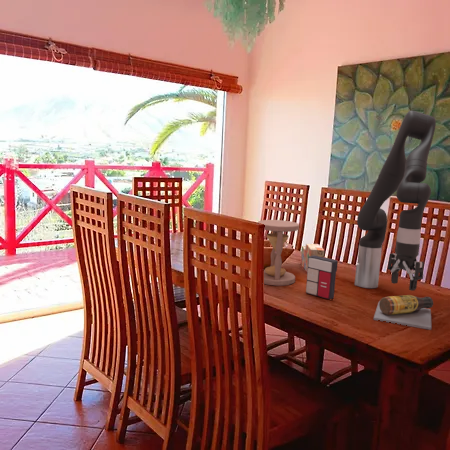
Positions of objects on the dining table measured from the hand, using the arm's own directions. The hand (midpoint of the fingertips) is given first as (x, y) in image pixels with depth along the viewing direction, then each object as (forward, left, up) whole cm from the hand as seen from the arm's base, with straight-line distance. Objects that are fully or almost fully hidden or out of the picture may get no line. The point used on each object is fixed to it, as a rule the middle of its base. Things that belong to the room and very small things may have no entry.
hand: (403, 286), depth 161 cm
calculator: (-30, +8, -11) cm, 33 cm away
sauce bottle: (-5, -5, -7) cm, 10 cm away
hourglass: (-52, +20, -11) cm, 57 cm away
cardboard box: (-42, +47, -11) cm, 64 cm away
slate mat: (+1, +1, -11) cm, 11 cm away
